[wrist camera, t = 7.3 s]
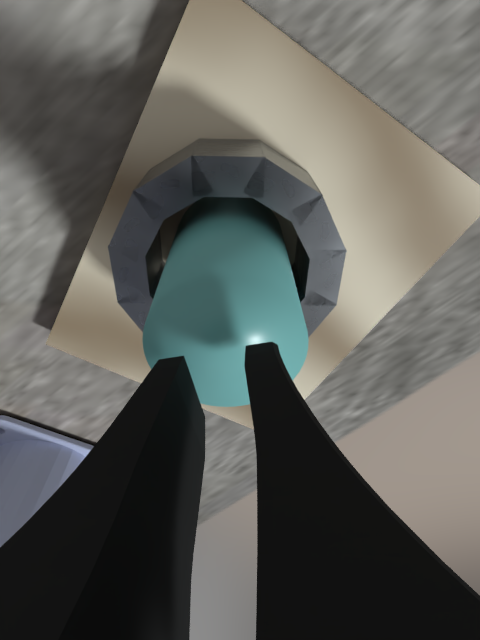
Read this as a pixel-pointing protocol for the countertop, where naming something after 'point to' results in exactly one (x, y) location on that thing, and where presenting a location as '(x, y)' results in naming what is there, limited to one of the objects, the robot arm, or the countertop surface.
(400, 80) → the countertop surface
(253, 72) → the pale board
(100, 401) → the countertop surface
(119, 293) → the grey faceted ring
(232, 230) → the teal plug
